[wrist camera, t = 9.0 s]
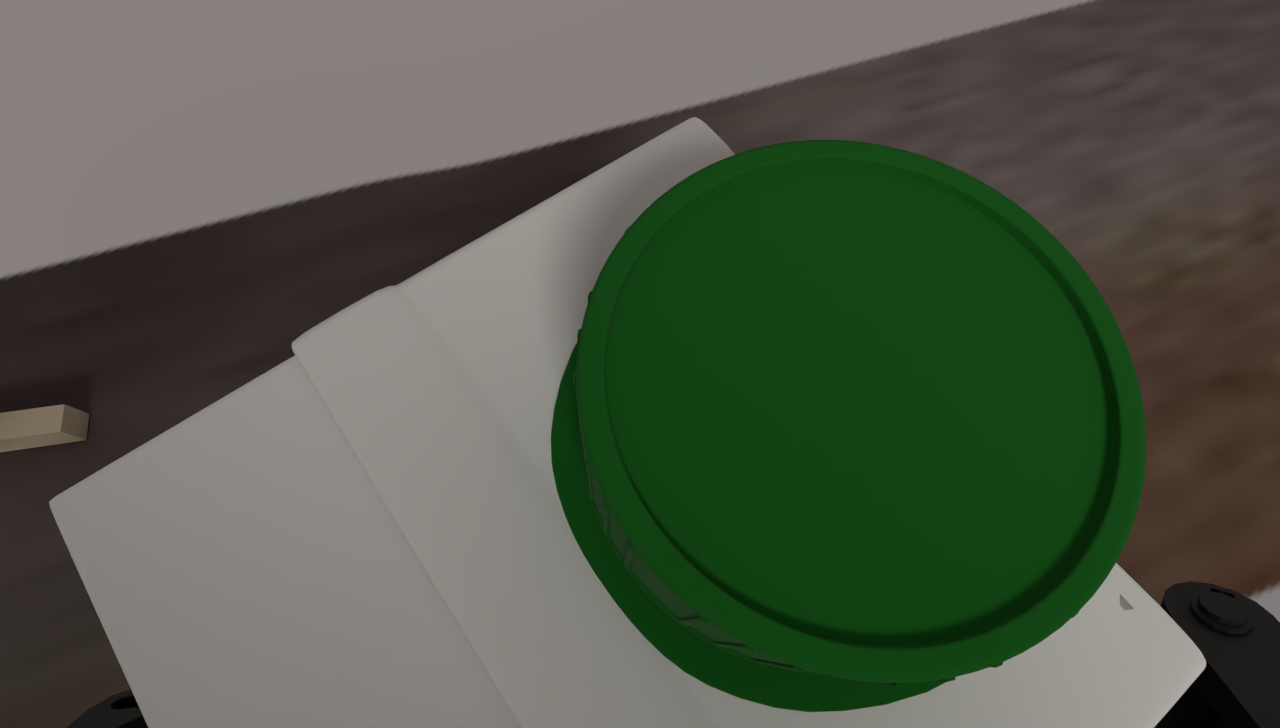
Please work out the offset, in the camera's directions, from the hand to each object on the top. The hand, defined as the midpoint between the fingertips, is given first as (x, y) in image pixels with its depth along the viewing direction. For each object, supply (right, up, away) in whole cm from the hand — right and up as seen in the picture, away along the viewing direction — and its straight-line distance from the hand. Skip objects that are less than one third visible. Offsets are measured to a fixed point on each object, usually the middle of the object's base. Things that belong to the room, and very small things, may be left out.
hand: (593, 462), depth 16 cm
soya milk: (0, -6, +7) cm, 10 cm away
